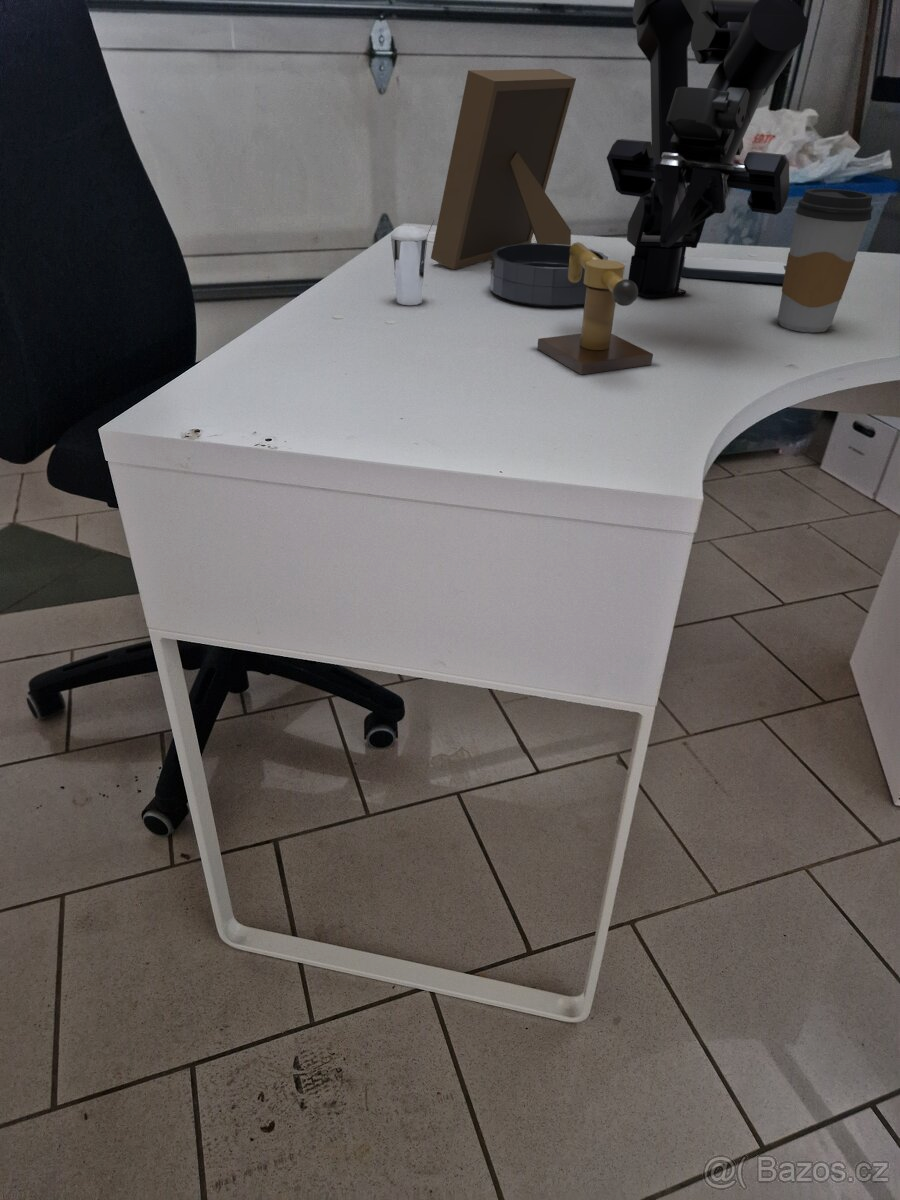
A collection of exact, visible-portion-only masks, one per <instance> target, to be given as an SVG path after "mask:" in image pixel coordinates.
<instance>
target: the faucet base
mask: <svg viewBox="0 0 900 1200" xmlns="http://www.w3.org/2000/svg"><path fill="white" fill-rule="evenodd" d="M616 304H617V303H616V302H615V300H614V298H613V293H612V292H611V291H610V290H608V289H602V288H594V287H590V286H587V289H586V297H585V304H584V307H583V315H582V322H581V323H582V324H581V333H574V334H565V335H555V336H550V337H539V338H538V339H537V348H536V349H537V350H538V351H539V352H541V353H543V354H545V355H547V356H548V357H550V358H551V359H553V360H555V361H556V362H558V363H560V364H562V365H564V366H565V367H567V368H569V369H570V370H572V371H574V372H576V373H577V374H579V375H581V376H582V375H587V374H588V375H589V374H594V373H603V372H610V371H615V370H616V371H617V370H622V369H623V370H625V369H630V368H638V367H645V366H650V365H652V363H653V357H654V354H653V353H652V352H650V351H648V350H646V349H644V348H642V347H640V346H638V345H636V344H634V343H632V342H630V341H628V340H625V339H623V338H621V337H619V336H618V335H616V334H613V333H612V331H613V324H614V316H615V310H616Z"/></svg>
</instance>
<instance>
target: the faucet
mask: <svg viewBox="0 0 900 1200" xmlns="http://www.w3.org/2000/svg"><path fill="white" fill-rule="evenodd" d="M589 249H590V248H588V247H587V246H585V245H584V244H583V243H582V242H573V243H572V244H571V247H570V250H569V252H570V259H569V268H568V279H569V281H570V282H572V283H576V282H578V281H579V280H580V279H581V276H582V268H584V269H585V272H584V281H583V283H584V284H585V285H587V286H590V287H594V288H602V289H608V290H610V291H611V292H612V293H613V298H614V300H615V302H616V303H615V304H617V305H619V306H621V307H627V306H630V305H632V304H633V303H634V302H635V301H636V300H637V297H638V295H639V294H638V288H637V286H636V284H635V283H634V282H633V281H631V280H628V278H627V279H624V274H625V273H624V272H625V264H624V263H623V262H620V261H617V260H613V259H612V260H611V259H607V260H601V259H600V258H599V257H597V256H596V255H595V254H594V253H593V252H591V251H590V250H589Z"/></svg>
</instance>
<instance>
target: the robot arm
mask: <svg viewBox="0 0 900 1200" xmlns="http://www.w3.org/2000/svg"><path fill="white" fill-rule="evenodd" d="M808 22H809V21H808V17H807V16H805V13H804V11H803V10H802V8H801V7H800V5H798V4H797V3H796V2H795V0H634V2H633V8H632V23H633V25H635V29H636V40H637V41H636V42H637V46H638V48H639V49H640V50H641V52H642V53H643V55H644V56H645V58H646V59H647V61H648V62H649V68H650V71H649V72H650V120H651V121H650V122H651V123H650V124H651V126H650V129H651V132H650V133H651V141H649V140H648V141H647V140H638V139H626V138H619V139H616V140H615V142H614V143H613V144H612V145H611V147H610V149H609V151H608V154H607V155H606V161H607V164H608V168H609V171H610V174H611V178H612V181H613V185H614V188H615V191H616V192H617V193H619V194H620V195H623V196H631V197H637V198H639V199H638V201H637V203H636V205H635V208H634V209H633V212H632V213H631V216H630V218H629V220H628V223H627V231H626V232H627V233H626V234H627V235H626V241H627V242H628V243H629V244H630V245H632V246H633V247H634V251H633V255H632V256H631V257H630V264H629V270H628V271H629V272H628V277H627V279H628V280H631V281H633V282H634V283H635V284H636V286H637V288H638V295H640V296H643V297H645V298H648V299H655V298H657V299H658V298H665V297H674V296H683V295H686V294H687V290H686V289H683V288H681V287H680V285H681V279H682V276H681V274H682V268H683V263H684V257H686V252H687V251H686V250H687V248H691V249H697V247H698V245H699V242H700V239H701V237H702V233H703V230H704V227H705V225H706V220H707V219H709V218H710V217H712V216H713V215H716V214H723V213H724V212H725V211H726V210H727V204H726V202H727V200H728V197H729V195H732V192H733V189H739V190H748V191H750V194H749V195H748V197H747V201H746V202H747V206H748V208H749V209H750V210H751V212H752V213H761V214H767V215H778V214H780V213H782V212H783V210H784V207H785V205H786V203H787V201H788V199H789V195H790V191H791V190H790V189H791V188H790V161H789V159H788V157H787V155H786V154H782V153H773V152H772V153H771V152H762V151H749V152H747V153H746V156H745V158H744V159H743V164H738V163H733V161H734V159H735V156H741V154H742V152H743V149H744V140H743V139H744V138H745V135H746V133H747V131H748V129H749V126H750V124H751V123H752V119H753V117H754V115H755V113H756V111H757V109H758V107H759V105H760V103H761V100H762V98H763V96H764V94H765V92H766V90H767V88H769V87H770V86H773V85H774V83H775V82H776V81H777V79H778V78H779V76H780V74H781V73H782V72H783V70H784V69H785V68H786V66H787V65H788V63H789V61H790V60H791V58H792V57H793V56H794V54H795V53H796V51H797V50H798V48H799V46H800V45H801V44H802V42H803V41H804V40H805V37H806V36H807V33H808V27H809V26H808V25H809V24H808ZM689 46H690V47H691V51H692V52H693V55H694V58H695V60H696V62H697V63H698V64H699V65H717V66H716V68H715V71H714V73H713V75H712V76H711V79H710V81H709V83H708V85H707V87H694V86H689V63H688V60H689V59H688V57H689V56H688V55H689V54H688V50H689V49H688V48H689Z"/></svg>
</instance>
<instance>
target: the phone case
mask: <svg viewBox="0 0 900 1200" xmlns="http://www.w3.org/2000/svg"><path fill="white" fill-rule="evenodd" d="M786 265H787V262H781V261H766V260H752V259H734V258H733V259H732V258H717V257H704V256H703V257H701V256H700V257H699V256H685V257H684V263H683V268H682V274H681V277H683V278H691V279H692V278H695V279H708V280H709V279H710V280H722V281H723V280H724V281H736V282H737V281H738V282H753V283H765V284H777V285H783V281H784V276H785V270H786Z"/></svg>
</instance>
